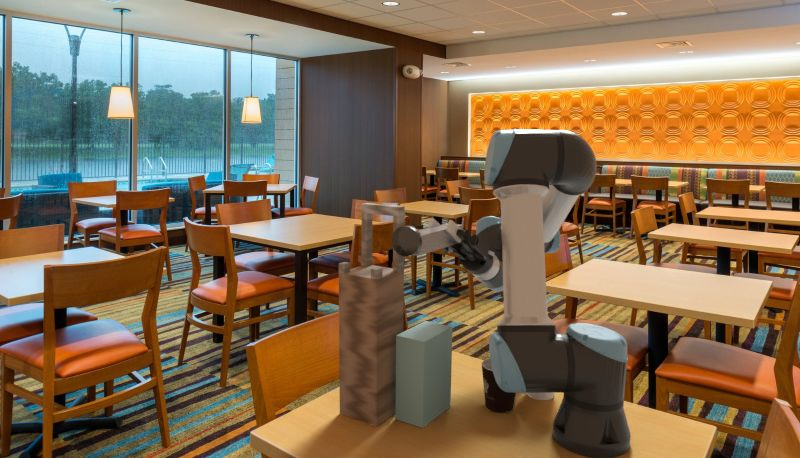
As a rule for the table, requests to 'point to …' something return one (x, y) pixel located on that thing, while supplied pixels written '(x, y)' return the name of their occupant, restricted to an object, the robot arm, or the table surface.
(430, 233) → the grey elongated piece
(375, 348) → the walnut stand
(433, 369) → the teal pedestal
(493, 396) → the coffee mug
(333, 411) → the table surface
